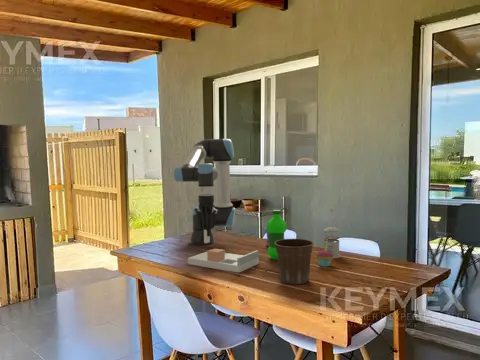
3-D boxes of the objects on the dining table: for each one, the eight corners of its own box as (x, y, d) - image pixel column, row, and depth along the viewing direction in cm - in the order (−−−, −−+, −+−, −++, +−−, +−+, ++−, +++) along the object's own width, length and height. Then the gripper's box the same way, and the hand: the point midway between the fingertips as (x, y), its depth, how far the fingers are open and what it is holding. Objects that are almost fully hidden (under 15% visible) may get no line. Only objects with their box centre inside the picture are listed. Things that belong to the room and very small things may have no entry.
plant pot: (287, 288, 148) (287, 248, 148) (267, 277, 163) (267, 240, 162) (321, 283, 155) (321, 244, 154) (300, 273, 170) (299, 237, 169)
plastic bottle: (290, 257, 197) (290, 210, 196) (278, 261, 189) (278, 212, 188) (275, 254, 204) (274, 208, 203) (263, 258, 196) (262, 210, 195)
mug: (261, 246, 226) (261, 228, 226) (271, 243, 233) (271, 226, 232) (277, 249, 218) (277, 230, 217) (287, 246, 224) (287, 228, 224)
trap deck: (187, 263, 187) (187, 250, 187) (209, 256, 202) (209, 244, 202) (239, 272, 171) (239, 258, 171) (258, 263, 186) (258, 250, 186)
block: (207, 260, 182) (207, 250, 182) (214, 257, 187) (214, 248, 187) (217, 261, 179) (217, 252, 179) (224, 259, 184) (224, 249, 184)
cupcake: (321, 262, 188) (322, 238, 187) (337, 265, 182) (337, 240, 181) (311, 265, 182) (311, 240, 181) (327, 268, 176) (327, 243, 175)
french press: (330, 258, 194) (329, 210, 193) (316, 254, 205) (316, 208, 204) (345, 256, 199) (345, 209, 198) (331, 252, 209) (331, 207, 208)
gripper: (190, 195, 185) (191, 242, 187) (212, 196, 178) (213, 245, 180) (200, 193, 192) (201, 239, 193) (221, 194, 185) (222, 242, 186)
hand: (206, 242), depth 186 cm, fingers closed
